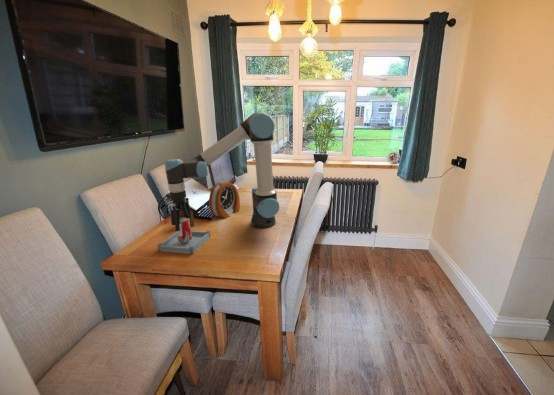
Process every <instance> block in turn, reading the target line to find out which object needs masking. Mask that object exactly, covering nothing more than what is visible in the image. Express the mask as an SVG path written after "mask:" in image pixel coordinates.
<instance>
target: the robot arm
mask: <svg viewBox="0 0 554 395" xmlns="http://www.w3.org/2000/svg"><path fill="white" fill-rule="evenodd" d="M275 127H276V125H275V122H274V119H273V118H272V116H271V115H270V114H268V113H266V112H254V113H252V114H250V116H248V117H247V118H246V119H245V120H243V121H242V122H241V123H239V124H238V127H237V128H235V129H234V130H233V131H231V132H230V133H228V134H227V135H225V136H224V137H223V138H221V139H220V140H218V141H216V142H215V143H214V144H213V145H211V146H209V147H208V148H207V149H205V150H204V151H202V152H201V153H199V154H198V155H197V156H195V157H192V158H190V160H189V161H188V162H182V160H181V159H180V158H170V159H167V160H165V161H164V167H165V168H164V169H165V174H166V181H167V186H168V191H169V199H170V200H171V201H172V205H169V208H168V209H169V211H170V212H169V213H170V219H171V220H170V222H171V225H172V226H175V232H177V236H183V233H182V227H181V224H180V212H181V211H182V213H183V215H184V217H186V218H188V220H189V218H191V216H190V215H191V210H192V209H191V206H190V201H189V199H190V198H189V197H187V193H186V190H185V189H186V185H185V180H184V179H190V178H191V179H193V178H203V177H208V175H209V172H208V167H209V166H210V165H212V164H213V163H214V162H215V161H217V160H219V159H220V158H222V157H223V156H225V155H226V154H228V152H230V151H232V150H234V149H235V148H236V147H238V146H239V145H241V144H242V143H244V142H245V141H247V140H249V141H250V142H251V144H253V150H254V162H255V172H256V173H255V174H256V176H255V177H256V184H257V186H255V187H253V188H251V198H252V215H251V219H250V224H251V226H252V227H253V228H257V229H266V228H270V227H273V226H275V225H276V223H277V221H276V215H277V214H278V212H280V211H279V210H280V203H279V200H278V194H277V193H278V191H277V189H275V187H274V176H273V161H272V160H273V159H272V145H271V144H272V143H273V141H274V132H275ZM188 212H189V213H188ZM177 222H178V223H177ZM189 222H190V220H189Z"/></svg>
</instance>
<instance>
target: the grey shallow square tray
mask: <svg viewBox="0 0 554 395" xmlns="http://www.w3.org/2000/svg"><path fill="white" fill-rule="evenodd" d="M191 234H192V239H191V240H190V241H188V242H185V243H182V242H180V241H179V240H178V236H177V231H175V233H173V234H172V235H170V236H169V237H168V238H166V239H165V240H164V241H162V242H158V244H157V248H158V252H165V253H173V254H175V253H176V254H186V255H194V254H195V253H196V252H197V251H198V250H199V249H200V248H201V247H202V246H203V245H204V244H205V243H206V242H207V241H208V240H209V239H210V238H211V231H210V230H206V231H202V230H191Z"/></svg>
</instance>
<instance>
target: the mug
mask: <svg viewBox="0 0 554 395" xmlns="http://www.w3.org/2000/svg"><path fill="white" fill-rule="evenodd" d="M190 210H191V215H190V216H191V218H189V220H190V227H191V228H193V227H194V226H195V219H194V218H195V217H194V213H193V210H192V209H190ZM188 213H189V212H188ZM182 217H184V215H183V213H182V210H181V211H180V218H182Z"/></svg>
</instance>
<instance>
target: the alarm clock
mask: <svg viewBox="0 0 554 395" xmlns="http://www.w3.org/2000/svg"><path fill="white" fill-rule="evenodd" d="M208 206H209V209H210V212H211V214H212V215H213V216H214V217H216V218H218V217H219V218H221V219H228V218H230V217H231V214H237V213H239V212H240V208H241V198H240V195H239V191H238V189H237V187H236V186H235V184H233V183H231V182H228V181H227V180H223V181H222V180H221V181H219V182H217V183H215V184H214V185H213V187H212V188H211V190H210V193H209V199H208Z"/></svg>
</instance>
